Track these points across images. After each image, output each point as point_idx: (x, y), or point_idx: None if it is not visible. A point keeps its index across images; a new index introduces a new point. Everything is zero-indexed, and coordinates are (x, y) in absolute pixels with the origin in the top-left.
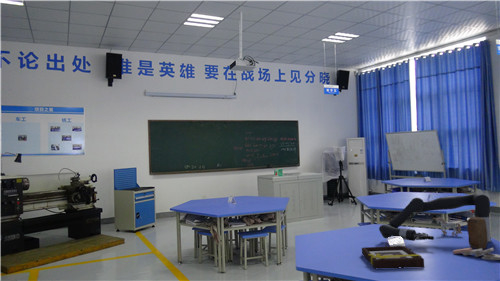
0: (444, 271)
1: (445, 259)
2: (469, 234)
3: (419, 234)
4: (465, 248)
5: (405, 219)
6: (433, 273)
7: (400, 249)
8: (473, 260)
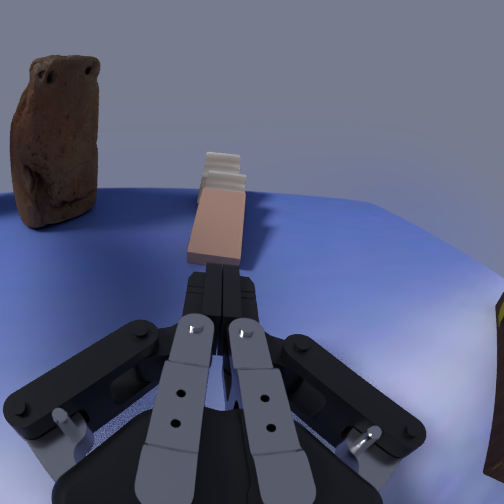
0: (458, 264)
1: (368, 280)
2: (47, 158)
3: (296, 431)
4: (203, 207)
5: None
6: (490, 278)
7: None
8: (284, 220)
